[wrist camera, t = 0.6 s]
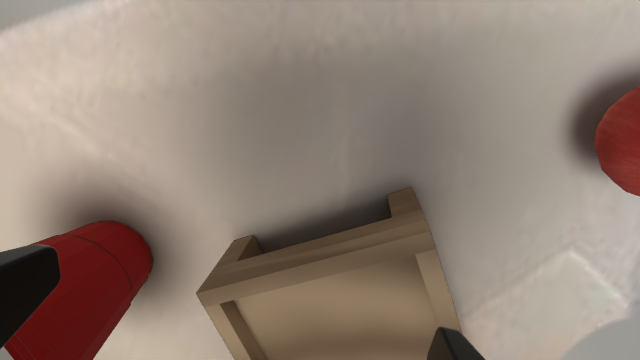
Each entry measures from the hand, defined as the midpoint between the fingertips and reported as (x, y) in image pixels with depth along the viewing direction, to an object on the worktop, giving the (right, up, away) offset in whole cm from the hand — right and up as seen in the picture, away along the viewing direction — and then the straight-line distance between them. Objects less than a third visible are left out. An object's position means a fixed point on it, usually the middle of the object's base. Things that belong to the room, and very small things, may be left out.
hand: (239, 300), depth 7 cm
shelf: (+4, -6, +16) cm, 18 cm away
